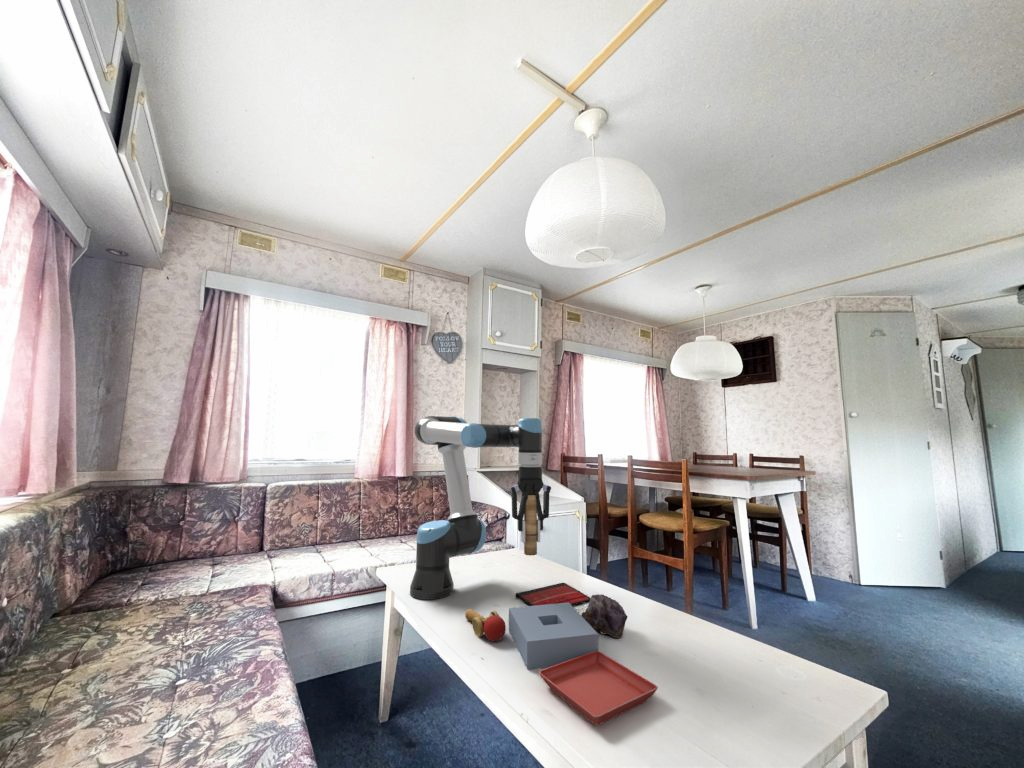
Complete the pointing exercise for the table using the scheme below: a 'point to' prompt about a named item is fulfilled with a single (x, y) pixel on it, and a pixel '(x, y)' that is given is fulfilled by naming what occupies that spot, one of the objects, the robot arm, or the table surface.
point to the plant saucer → (598, 686)
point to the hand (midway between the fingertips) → (530, 541)
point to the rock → (605, 615)
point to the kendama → (487, 625)
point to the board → (550, 634)
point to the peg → (530, 526)
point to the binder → (553, 595)
